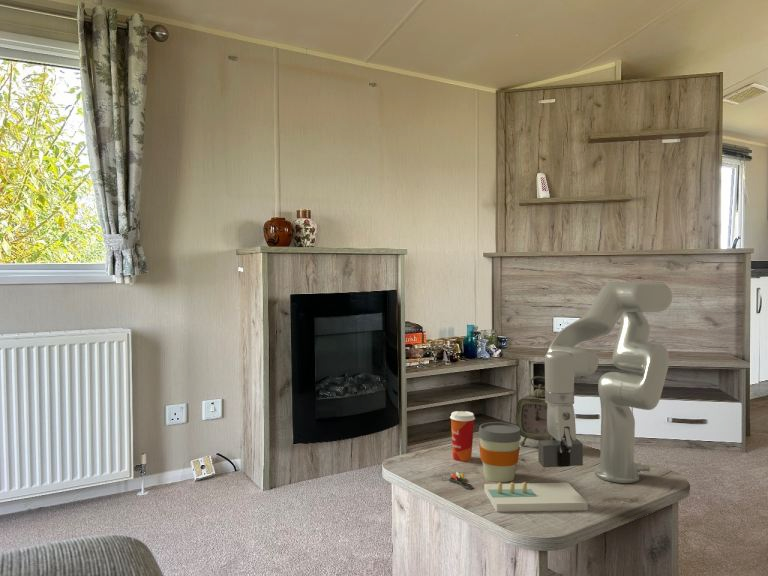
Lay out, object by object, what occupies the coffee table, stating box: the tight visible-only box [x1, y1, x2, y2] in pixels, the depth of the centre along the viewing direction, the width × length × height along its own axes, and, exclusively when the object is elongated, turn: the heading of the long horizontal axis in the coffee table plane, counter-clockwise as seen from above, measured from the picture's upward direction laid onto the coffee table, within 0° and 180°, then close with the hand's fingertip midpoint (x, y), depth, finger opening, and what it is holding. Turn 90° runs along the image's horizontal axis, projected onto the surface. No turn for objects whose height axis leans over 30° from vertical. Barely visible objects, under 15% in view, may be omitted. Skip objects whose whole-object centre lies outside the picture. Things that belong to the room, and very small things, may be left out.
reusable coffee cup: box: [478, 421, 522, 483], centre depth 176 cm, size 13×13×15 cm
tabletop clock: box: [515, 375, 551, 447], centre depth 206 cm, size 14×9×25 cm, turn 59°
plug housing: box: [537, 438, 584, 468], centre depth 159 cm, size 11×4×6 cm, turn 93°
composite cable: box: [448, 471, 474, 491], centre depth 170 cm, size 10×5×2 cm, turn 15°
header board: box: [483, 481, 588, 513], centre depth 158 cm, size 24×14×5 cm, turn 93°
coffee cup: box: [449, 410, 476, 462], centre depth 192 cm, size 8×8×15 cm
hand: (560, 462), depth 159 cm, fingers closed on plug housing, 4 cm apart
